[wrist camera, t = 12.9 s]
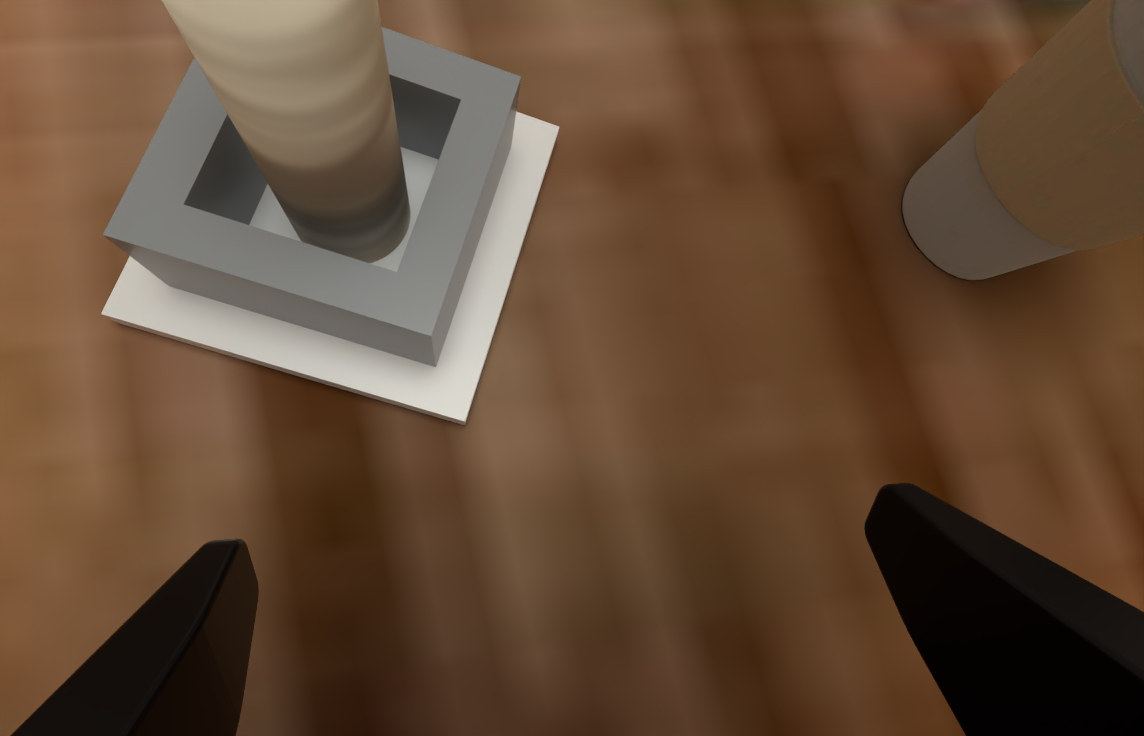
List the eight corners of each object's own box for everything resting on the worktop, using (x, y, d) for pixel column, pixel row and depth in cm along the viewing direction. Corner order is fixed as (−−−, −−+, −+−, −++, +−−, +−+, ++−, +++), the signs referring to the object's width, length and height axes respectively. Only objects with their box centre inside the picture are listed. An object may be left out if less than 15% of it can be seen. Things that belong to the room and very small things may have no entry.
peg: (388, 280, 22) (297, -23, 10) (273, 244, 22) (21, -124, 9) (425, 182, 23) (387, -208, 11) (316, 146, 23) (143, -305, 10)
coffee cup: (1066, 176, 30) (1637, -138, 15) (1033, 355, 27) (1681, 178, 13) (889, 92, 29) (1314, -322, 15) (839, 267, 26) (1293, -25, 12)
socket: (464, 425, 22) (466, 401, 18) (117, 322, 21) (16, 267, 16) (555, 141, 25) (578, 55, 21) (257, 37, 24) (207, -80, 19)
